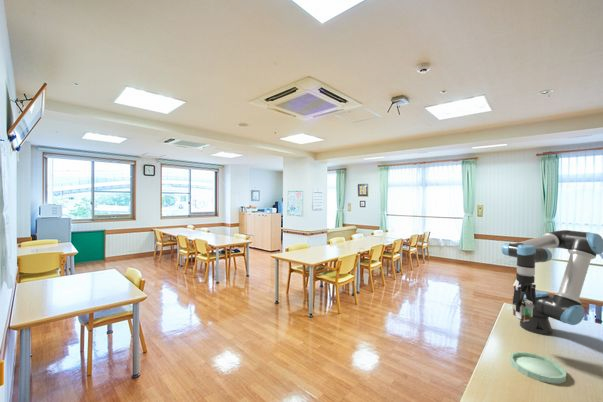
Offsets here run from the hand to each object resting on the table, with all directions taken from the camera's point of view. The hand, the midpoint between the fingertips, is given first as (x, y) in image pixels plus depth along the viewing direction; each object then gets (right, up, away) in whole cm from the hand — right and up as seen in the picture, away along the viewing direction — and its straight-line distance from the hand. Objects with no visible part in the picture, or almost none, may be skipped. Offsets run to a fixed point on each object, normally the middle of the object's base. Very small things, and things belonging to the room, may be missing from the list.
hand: (523, 316), depth 146 cm
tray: (-7, -18, -17) cm, 25 cm away
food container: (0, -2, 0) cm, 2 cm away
